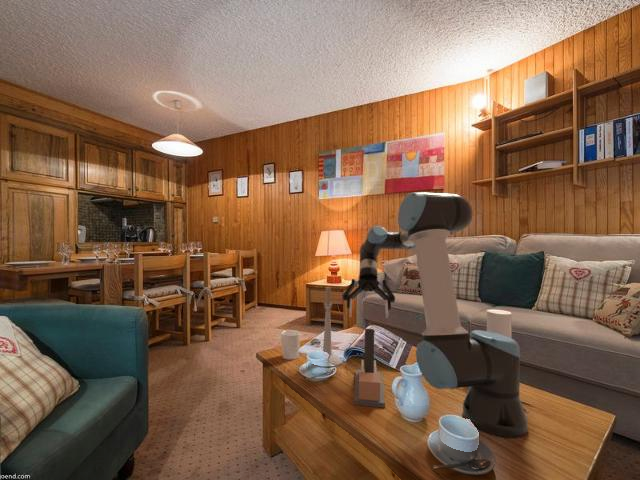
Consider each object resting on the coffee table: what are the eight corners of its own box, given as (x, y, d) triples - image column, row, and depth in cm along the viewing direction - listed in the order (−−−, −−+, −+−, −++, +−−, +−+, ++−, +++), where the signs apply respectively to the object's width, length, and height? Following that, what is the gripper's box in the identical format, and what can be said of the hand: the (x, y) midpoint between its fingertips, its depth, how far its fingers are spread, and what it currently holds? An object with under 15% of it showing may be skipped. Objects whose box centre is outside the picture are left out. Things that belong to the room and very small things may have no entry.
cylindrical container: (504, 381, 104) (504, 309, 105) (515, 392, 97) (516, 314, 98) (482, 380, 105) (483, 309, 105) (492, 390, 98) (493, 313, 98)
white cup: (281, 353, 128) (281, 329, 128) (299, 352, 129) (299, 329, 129) (280, 360, 121) (280, 335, 121) (300, 360, 121) (300, 335, 121)
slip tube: (364, 376, 103) (364, 326, 103) (373, 376, 102) (373, 326, 102) (364, 393, 91) (364, 337, 91) (374, 394, 90) (375, 337, 90)
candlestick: (324, 370, 112) (325, 289, 112) (305, 359, 123) (306, 285, 123) (349, 362, 120) (350, 286, 120) (329, 352, 130) (330, 283, 130)
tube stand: (355, 373, 110) (356, 355, 110) (381, 375, 109) (381, 357, 109) (353, 404, 89) (354, 382, 89) (385, 407, 87) (385, 384, 87)
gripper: (397, 278, 129) (401, 322, 114) (339, 277, 133) (336, 319, 118) (399, 267, 124) (403, 311, 109) (338, 265, 128) (335, 308, 112)
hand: (368, 315), depth 113 cm, fingers open, 13 cm apart
